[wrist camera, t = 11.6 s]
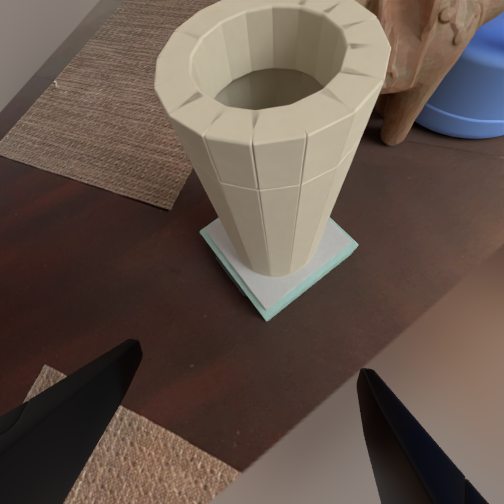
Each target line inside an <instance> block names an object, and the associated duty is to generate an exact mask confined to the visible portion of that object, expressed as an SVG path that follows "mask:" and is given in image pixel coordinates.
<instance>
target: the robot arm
mask: <svg viewBox="0 0 504 504" xmlns="http://www.w3.org/2000/svg"><path fill="white" fill-rule="evenodd" d="M142 356H143V353H142V349H141V346H140V342H139V341H138V340H134V339H128V340H126V341H125V342H123V343H121V344H120V345H118V346H116V347H115V348H113V349H111V350H110V351H108V352H107V353H105V354H103V355H102V356H100V357H98V358H97V359H95V360H93V361H92V362H90V363H89V364H87V365H85V366H84V367H82V368H80V369H79V370H77V371H76V372H74V373H72V374H71V375H69V376H67V377H66V378H64V379H62V380H61V381H59V382H58V383H56V384H54V385H53V386H51V387H49V388H48V389H46V390H44V391H43V392H41V393H40V394H38V395H36V396H35V397H33V398H31V399H30V400H29V401H27V402H25V403H23V404H21V405H20V406H18V407H17V408H15V409H13V410H12V411H10V412H8V413H7V414H5V415H3V416H2V417H0V504H63V502H64V501H65V499H66V497H67V495H68V494H69V492H70V490H71V488H72V487H73V485H74V483H75V482H76V480H77V478H78V476H79V475H80V473H81V471H82V469H83V468H84V466H85V464H86V462H87V461H88V459H89V457H90V456H91V454H92V452H93V450H94V449H95V447H96V445H97V443H98V442H99V440H100V438H101V436H102V435H103V433H104V431H105V429H106V428H107V426H108V424H109V423H110V421H111V419H112V417H113V416H114V414H115V412H116V410H117V409H118V407H119V405H120V403H121V402H122V400H123V398H124V396H125V394H126V392H127V390H128V388H129V386H130V384H131V382H132V379H133V377H134V375H135V373H136V371H137V369H138V366H139V364H140V362H141V360H142ZM357 393H358V399H359V406H360V412H361V419H362V426H363V432H364V436H365V441H366V445H367V449H368V453H369V457H370V461H371V464H372V469H373V473H374V477H375V480H376V484H377V488H378V492H379V496H380V500H381V504H489V503H487V501H486V500H485V499H484V498H483V497H482V496H481V495H480V493H479V492H478V491H477V490H476V489H475V488H474V486H473V485H472V484H471V483H470V482H469V480H467V479H465V476H464V475H463V474H462V472H461V471H460V470H459V469H458V468H457V467H456V465H455V464H454V463H453V462H452V461H451V460H450V458H449V457H448V456H447V455H446V454H445V453H444V451H443V450H442V449H441V448H440V447H439V446H438V444H437V443H436V442H435V441H434V440H433V439H432V437H431V436H430V435H429V434H428V433H427V432H426V430H425V429H424V428H423V427H422V426H421V425H420V424H419V422H418V421H417V420H416V419H415V418H414V416H413V415H412V414H411V413H410V412H409V411H408V409H407V408H406V407H405V406H404V405H403V404H402V402H401V401H400V400H399V399H398V398H397V397H396V395H395V394H394V393H393V392H392V391H391V390H390V388H389V387H388V386H387V385H386V384H385V383H384V381H383V380H382V379H381V378H380V377H379V376H378V374H377V373H376V372H375V371H374V370H372V369H367V368H362V369H361V370H360V373H359V377H358V380H357Z"/></svg>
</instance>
